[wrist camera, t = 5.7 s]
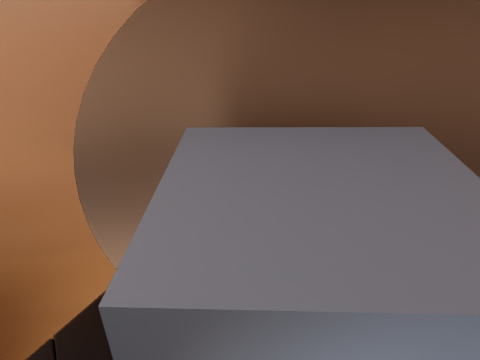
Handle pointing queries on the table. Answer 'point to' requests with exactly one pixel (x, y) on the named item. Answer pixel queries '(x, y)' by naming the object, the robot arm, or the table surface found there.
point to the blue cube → (303, 250)
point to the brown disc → (267, 85)
